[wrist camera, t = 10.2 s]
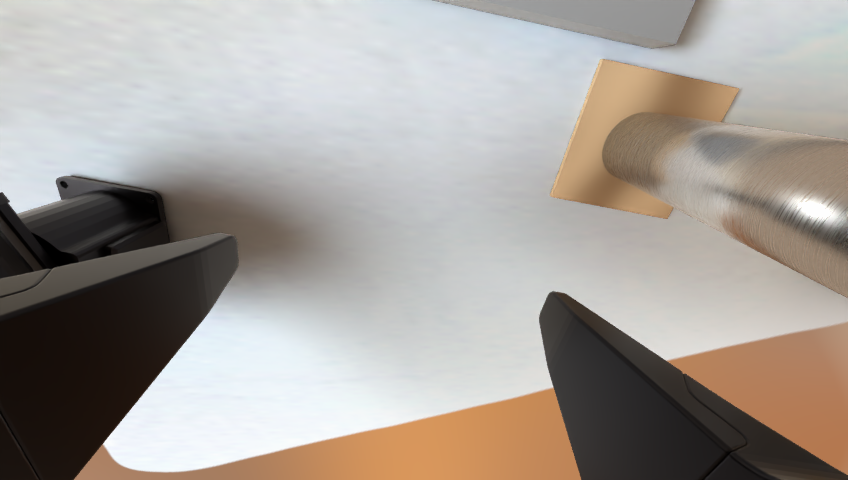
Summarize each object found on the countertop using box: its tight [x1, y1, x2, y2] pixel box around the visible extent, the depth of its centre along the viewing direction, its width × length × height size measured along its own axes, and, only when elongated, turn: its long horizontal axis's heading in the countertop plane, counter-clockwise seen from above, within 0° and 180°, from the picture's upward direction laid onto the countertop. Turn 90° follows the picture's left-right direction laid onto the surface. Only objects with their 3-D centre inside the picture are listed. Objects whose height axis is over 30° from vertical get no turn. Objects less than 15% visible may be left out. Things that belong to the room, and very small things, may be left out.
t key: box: [602, 112, 848, 298], centre depth 13 cm, size 4×6×15 cm, turn 9°
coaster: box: [550, 59, 739, 219], centre depth 20 cm, size 8×8×1 cm
